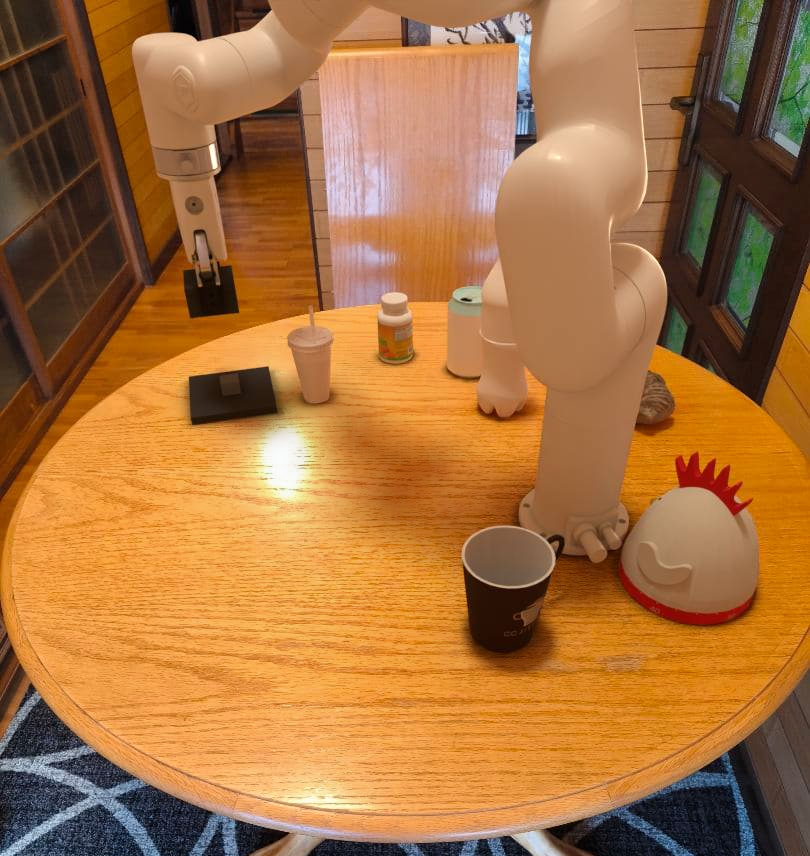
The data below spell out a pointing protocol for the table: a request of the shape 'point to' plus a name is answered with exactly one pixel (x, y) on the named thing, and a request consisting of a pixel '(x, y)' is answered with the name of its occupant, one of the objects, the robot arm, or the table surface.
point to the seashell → (655, 400)
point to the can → (465, 332)
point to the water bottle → (499, 352)
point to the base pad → (231, 395)
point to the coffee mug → (507, 584)
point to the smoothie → (312, 359)
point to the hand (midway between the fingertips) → (213, 301)
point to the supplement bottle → (395, 329)
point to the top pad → (193, 296)
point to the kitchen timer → (693, 549)
